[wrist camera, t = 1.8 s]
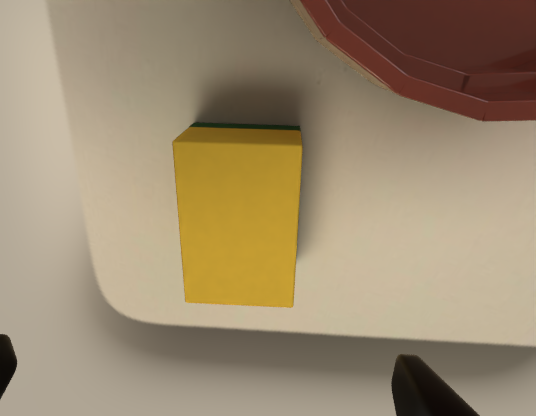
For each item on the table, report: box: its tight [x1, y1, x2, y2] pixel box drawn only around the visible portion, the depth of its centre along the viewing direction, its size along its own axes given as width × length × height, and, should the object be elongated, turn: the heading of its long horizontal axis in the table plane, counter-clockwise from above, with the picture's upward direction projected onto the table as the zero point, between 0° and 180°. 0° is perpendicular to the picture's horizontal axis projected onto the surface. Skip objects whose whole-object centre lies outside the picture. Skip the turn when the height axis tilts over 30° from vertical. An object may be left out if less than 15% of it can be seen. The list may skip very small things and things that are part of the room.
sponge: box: [173, 123, 303, 308], centre depth 16 cm, size 7×5×3 cm, turn 179°
